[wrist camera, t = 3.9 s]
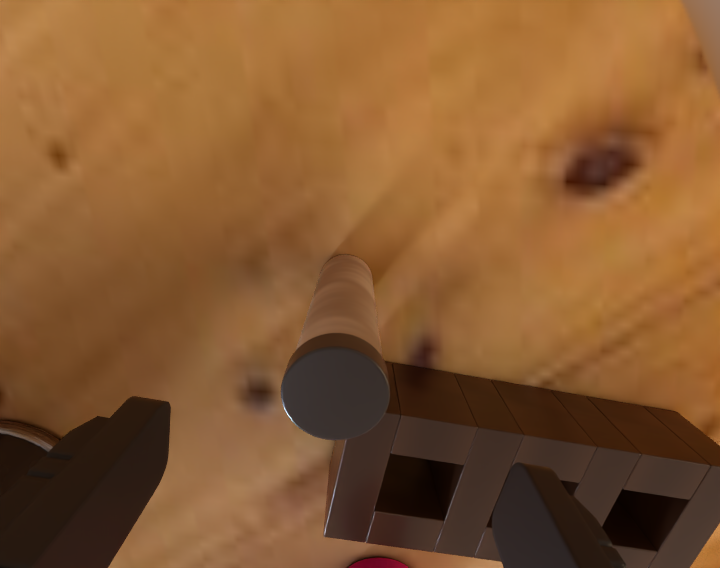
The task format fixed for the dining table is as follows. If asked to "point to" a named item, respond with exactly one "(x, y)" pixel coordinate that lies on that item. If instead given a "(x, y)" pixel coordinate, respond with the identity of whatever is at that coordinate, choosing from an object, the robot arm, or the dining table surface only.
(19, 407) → the dining table surface
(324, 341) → the peg
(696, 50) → the dining table surface
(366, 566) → the pepper mill
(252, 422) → the dining table surface
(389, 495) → the dark brown hollow block
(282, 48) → the dining table surface
